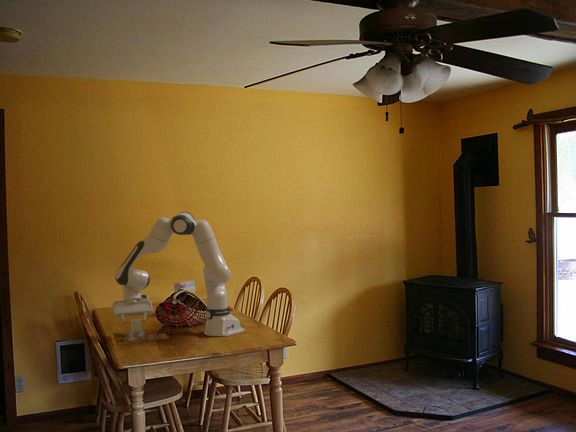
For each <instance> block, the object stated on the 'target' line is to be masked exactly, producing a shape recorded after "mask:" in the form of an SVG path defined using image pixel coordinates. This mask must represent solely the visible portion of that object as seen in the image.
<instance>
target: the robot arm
mask: <svg viewBox="0 0 576 432" xmlns="http://www.w3.org/2000/svg"><path fill="white" fill-rule="evenodd" d="M173 234H176V235H178V236H179V235H180V236H185V235H187V236H189V235H191V236H192V238H193V240H194V243H195V246H196V248H197V252H198V255H199V257H200V259H201V261H202V262H203V264H204V266H203V269H202V270H203V275H204V276H203V277H204V283H205V284H204V285H205V291H206V308H205V311H206V312H205V314H206V315H205V316H206V324H205V329H204V333H203V334H204V335H206V336H208V337H229V336H233V335H236V334H240V333H243V332H245V328H243V327H241V323H240V320H239V319H238V318H237V317H236V316H234V315H233V314H231V312H234V309H235V308H234V307H228V292H227V289H226V283H227V282H229V281H230V279H231V276H232V272H231V270H230V268H229V266H228V263H227V262H226V260H225V258H224V256H223V253H222V252H221V249H220V247H219V245H218V241H217V239H216V236H215V234H214V231H213V228H212V226H211V225H210V223H209V222H208V221H207V220H206V219H198V220H195V218H194V215H193V214H191V212H189V211H180V212H179V213H177V214H176V215H174V216H172V217H171V218H168V217H165V216H162V217H159V218H158V219H157V220H156V221H155V223H154V224H153V226H152V228H151V229H150V232H149V233H148V235H147V236H146V237H145V238H144V239H143V240H140V241H138V242H137V243H136V244H135V246H134V247H133V249H132V250H131V251H130V252H129V254H128V255H127V256H126V259H125V260H124V261H123V262H122V264H121V265H120V266H119V268H117V269H116V272H115V275H114V279H115V281H116V282H117V284H118V285H120V286H121V287H122V292H123V295H122V297H123V300H115V301H114V302H112V305H111V307H112V308H113V316H114V318H120V319H121V320H122V321H123V324H127V322H128V320H127V318H126V317H134V316H135V317H137V316H143V317H141V323H142V322H146V318H147V315H152V314H153V312H154V307H153V304H152V301H151V300H150V296H149V295H147V294H143V293H140V291H143V290H145V289H146V288H147V287H148V286H149V284H150V281H151V279H150V274H149V272H148V271H145V270H142V269H137V268H133V267H134V266H135V264H136V263H137V261H138V260H139V258H141V257H142V256H144V255H149V254H157V253H160V252H162V251H164V249H166V247H167V246H168V244H169V241H170V239H171V238H172V236H173Z"/></svg>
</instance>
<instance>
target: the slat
mask: <svg viewBox="0 0 576 432" xmlns="http://www.w3.org/2000/svg"><path fill="white" fill-rule="evenodd" d="M141 330H142V318H137V319H135V318H134V319H130V331H131V333H132V332H141Z"/></svg>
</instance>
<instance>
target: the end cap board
mask: <svg viewBox="0 0 576 432" xmlns="http://www.w3.org/2000/svg"><path fill="white" fill-rule="evenodd" d="M122 339H123V342H124V343H125V344H131V343H140V342H141V343H142V342H149V341H158V340H160V341H161V340H167V339H170V337H169V336H168V335H167V334H166V333H154V334H146V330H145V329H143V328H141V332H132V333H131V330H127V331H126V337H122Z"/></svg>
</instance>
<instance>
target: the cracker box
mask: <svg viewBox="0 0 576 432" xmlns="http://www.w3.org/2000/svg"><path fill="white" fill-rule="evenodd" d="M195 282H196V281H195V280H193V279H187V280H183V281H178V282H174V283H173V285H174V287H173V290H174V292H173V293H175V292H177V291H178V290H179V289H184V290H188V291H190V292H192V293H194V294H195V295H196V283H195Z"/></svg>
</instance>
